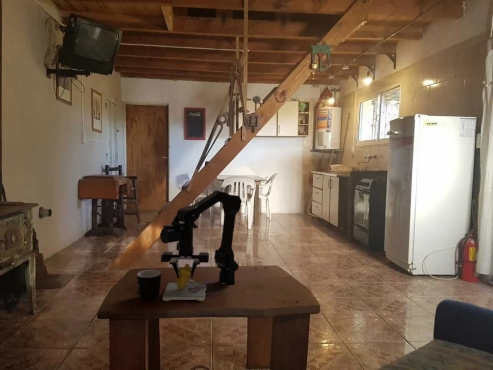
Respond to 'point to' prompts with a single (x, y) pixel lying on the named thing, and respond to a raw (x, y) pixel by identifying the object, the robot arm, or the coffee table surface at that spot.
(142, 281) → the mug
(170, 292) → the stand
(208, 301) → the coffee table surface
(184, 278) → the pressure relief valve
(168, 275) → the coffee table surface
